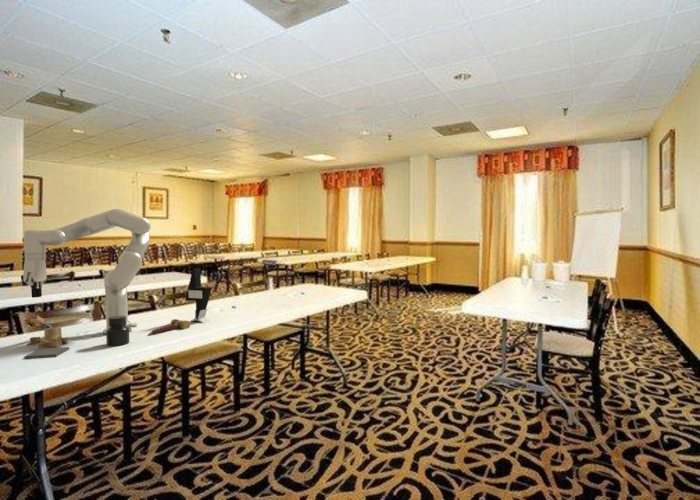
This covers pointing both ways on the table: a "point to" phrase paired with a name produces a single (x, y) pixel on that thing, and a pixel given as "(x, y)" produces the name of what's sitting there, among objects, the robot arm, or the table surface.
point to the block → (53, 335)
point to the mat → (46, 352)
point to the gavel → (172, 326)
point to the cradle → (52, 344)
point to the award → (198, 296)
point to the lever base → (36, 341)
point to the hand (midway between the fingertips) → (36, 297)
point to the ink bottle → (117, 331)
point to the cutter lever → (40, 321)
